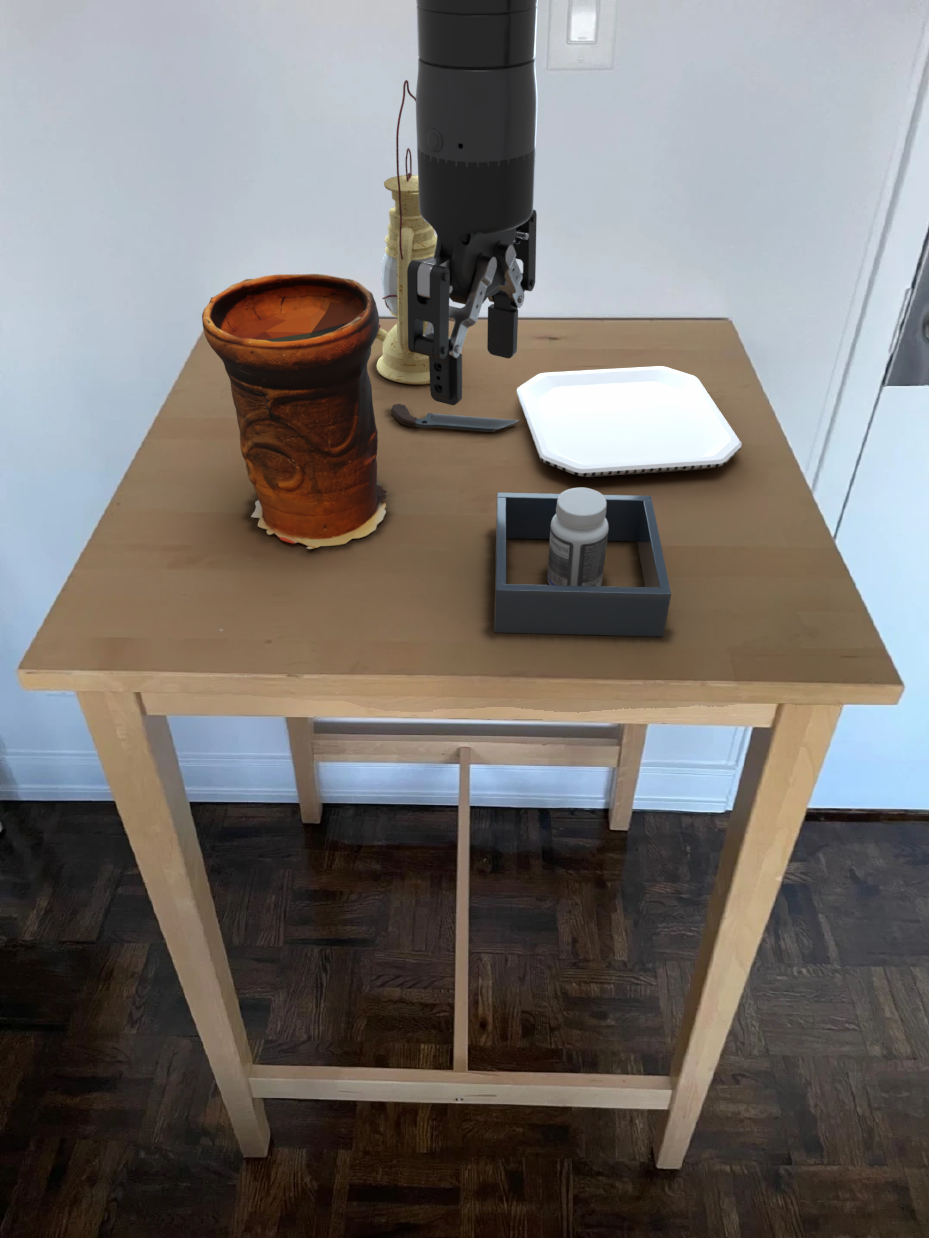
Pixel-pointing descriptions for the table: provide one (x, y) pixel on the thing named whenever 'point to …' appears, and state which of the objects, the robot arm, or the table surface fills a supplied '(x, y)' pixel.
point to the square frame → (581, 604)
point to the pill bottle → (578, 539)
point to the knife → (450, 421)
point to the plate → (625, 421)
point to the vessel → (303, 401)
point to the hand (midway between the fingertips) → (475, 377)
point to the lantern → (403, 273)
